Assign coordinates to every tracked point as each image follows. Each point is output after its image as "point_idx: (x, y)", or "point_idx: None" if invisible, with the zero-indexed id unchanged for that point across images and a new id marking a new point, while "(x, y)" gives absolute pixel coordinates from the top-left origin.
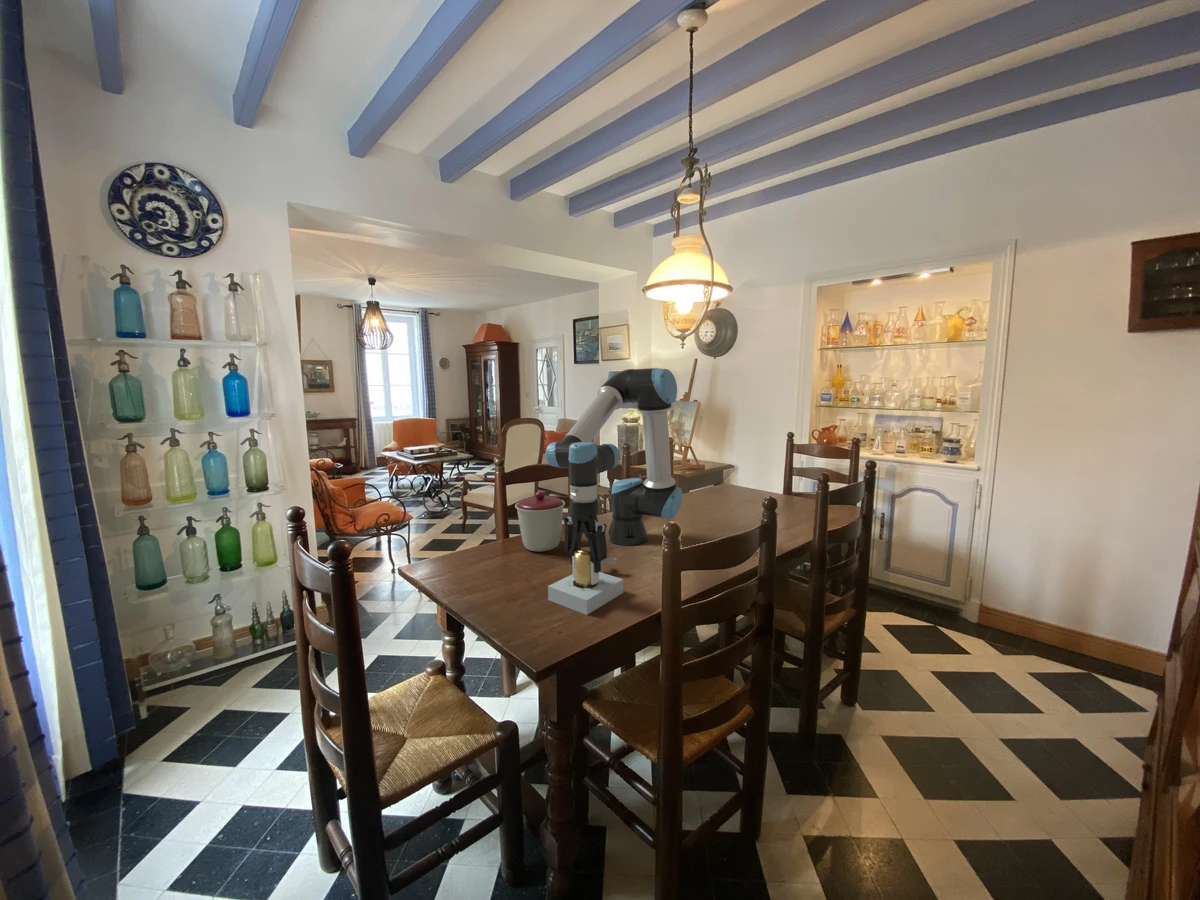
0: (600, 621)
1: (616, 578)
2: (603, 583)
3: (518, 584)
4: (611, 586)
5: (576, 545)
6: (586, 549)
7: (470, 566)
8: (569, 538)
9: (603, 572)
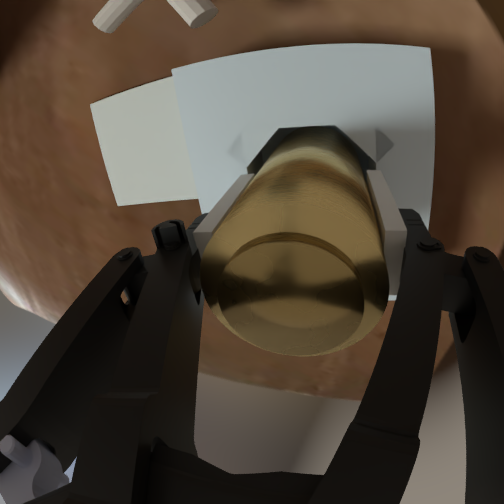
0: (446, 249)
1: (399, 58)
2: (388, 145)
3: (94, 231)
4: (434, 145)
5: (191, 324)
6: (293, 299)
7: (4, 238)
8: (115, 358)
9: None
